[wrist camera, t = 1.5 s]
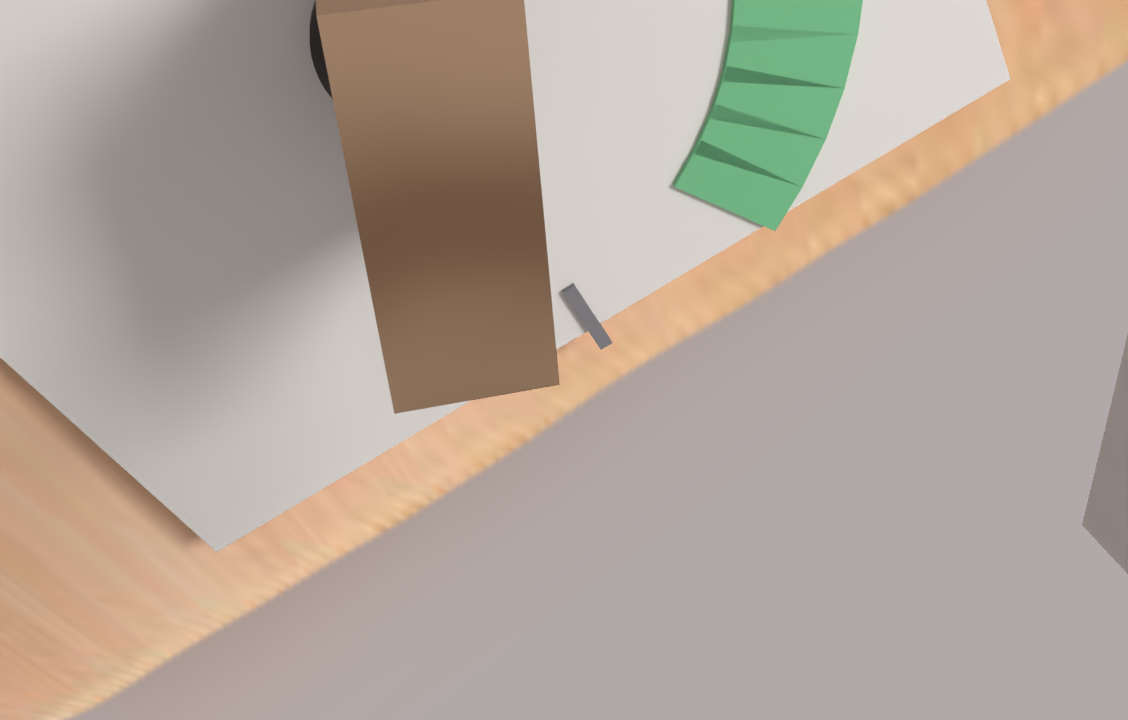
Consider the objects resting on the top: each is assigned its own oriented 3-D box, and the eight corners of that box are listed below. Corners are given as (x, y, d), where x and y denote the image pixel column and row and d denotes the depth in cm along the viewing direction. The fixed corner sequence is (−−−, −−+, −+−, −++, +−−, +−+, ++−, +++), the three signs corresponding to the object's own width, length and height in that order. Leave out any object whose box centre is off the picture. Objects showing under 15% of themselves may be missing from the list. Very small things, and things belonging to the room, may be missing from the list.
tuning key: (279, -105, 24) (266, 22, 15) (472, -127, 25) (570, -18, 16) (379, 387, 32) (410, 671, 23) (526, 362, 32) (614, 628, 23)
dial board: (-397, -49, 24) (-440, -32, 23) (693, -842, 21) (721, -880, 20) (233, 534, 36) (230, 568, 35) (989, 83, 33) (1020, 101, 31)
